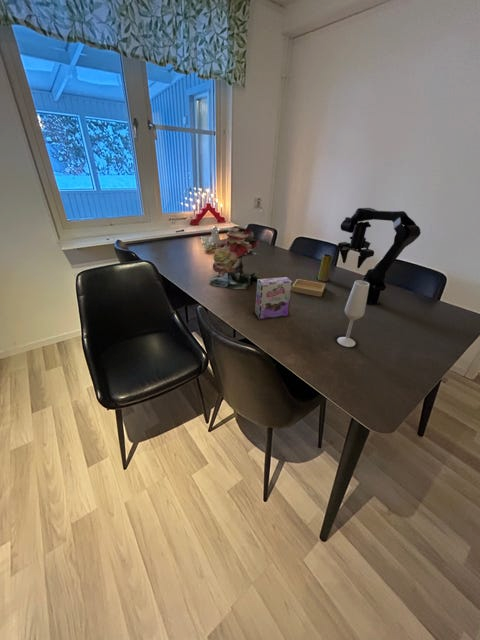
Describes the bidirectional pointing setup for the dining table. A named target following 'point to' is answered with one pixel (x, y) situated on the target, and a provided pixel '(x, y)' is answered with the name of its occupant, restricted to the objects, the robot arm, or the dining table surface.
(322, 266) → the vase
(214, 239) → the chinaware
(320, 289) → the tray
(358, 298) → the champagne flute
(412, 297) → the dining table surface
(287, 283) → the candy box
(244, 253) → the rose bouquet
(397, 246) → the robot arm
